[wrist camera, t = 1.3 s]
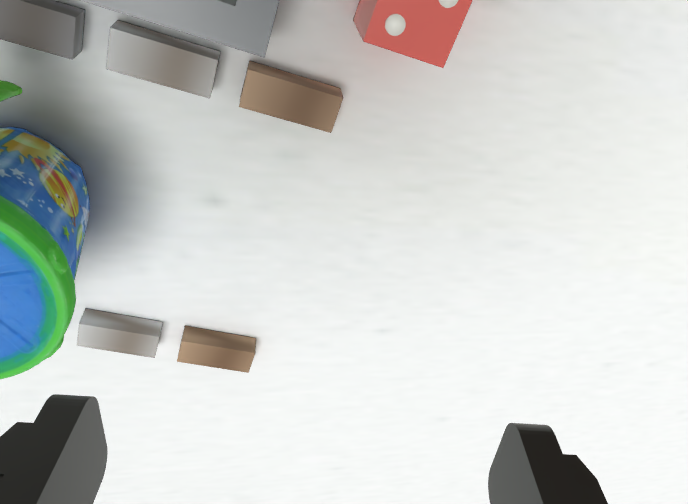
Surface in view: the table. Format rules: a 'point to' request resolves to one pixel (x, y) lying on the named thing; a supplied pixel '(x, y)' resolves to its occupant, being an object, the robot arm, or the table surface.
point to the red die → (412, 26)
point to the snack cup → (36, 244)
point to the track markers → (190, 76)
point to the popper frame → (207, 19)
